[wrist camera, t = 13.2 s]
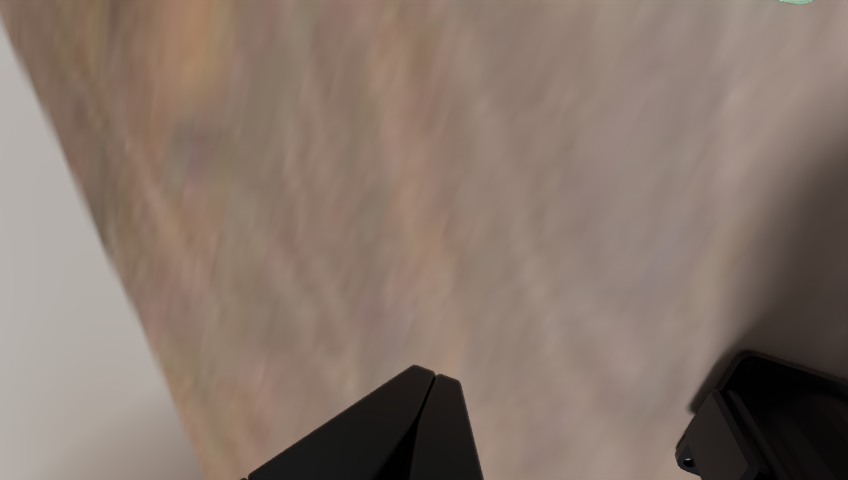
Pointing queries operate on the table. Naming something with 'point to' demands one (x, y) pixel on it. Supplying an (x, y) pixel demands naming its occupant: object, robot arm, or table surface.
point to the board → (797, 1)
